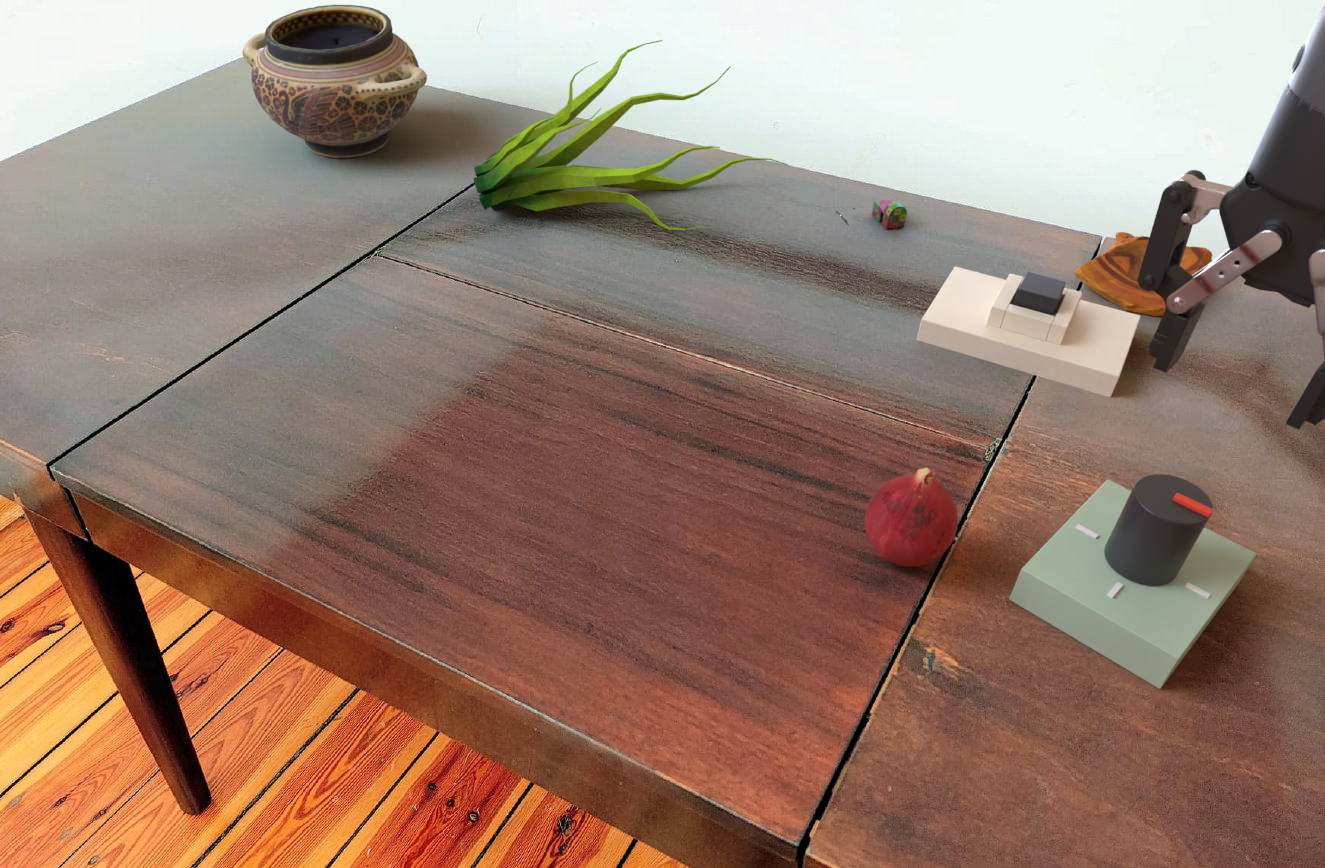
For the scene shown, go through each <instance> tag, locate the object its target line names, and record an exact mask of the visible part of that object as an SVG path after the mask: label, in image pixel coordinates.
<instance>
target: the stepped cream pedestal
mask: <svg viewBox="0 0 1325 868" xmlns="http://www.w3.org/2000/svg"><path fill="white" fill-rule="evenodd" d="M1024 277H1025V276H1022V275H1019V274H1016V273H1015V274H1014V273H1012V272H1011V273H1009V274H1008V276H1007V278H1006V279H1004V278H1001V277H997V276H993V275H989V274H985V273H983V272H982V273H981V272H978V271H975V270H971V269H967V268H963V267H959V266H954V267H953V269H952V270H951V272H950V273H949V275H948V277H947V278H946V280H945V281H944V283H943V284H942V286H941V287H940V289H939V291H938V293H937V294H936V296H935V297H934V299H933V301H932V302H931V304H930V305H929V306H928V308H927V310H926V311H925V313H924V315H923V316H922V318H921V320H920V324H919V328H918V331H917V335H916V341H919V342H922V343H925V344H927V345H932V346H935V347H938V348H942V349H945V350H948V351H952V352H955V353H959V354H962V355H966V356H969V357H971V358H976V359H979V360H982V361H986V362H990V363H993V364H995V365H999V366H1003V367H1006V368H1009V369H1012V370H1016V371H1020V372H1023V373H1026V374H1029V375H1032V376H1036V377H1039V378H1043V379H1047V380H1049V381H1053V382H1056V383H1060V384H1063V385H1067V386H1070V387H1072V388H1073V387H1074V388H1075V389H1079V390H1082V391H1087V392H1090V393H1094V394H1097V395H1100V396H1104V397H1107V398H1112V396H1113V393H1114V391H1115V388H1116V387H1117V384H1118V381H1119V379H1120V377H1121V374H1122V371H1123V368H1124V366H1125V362H1126V360H1127V357H1128V354H1129V351H1130V349H1131V346H1132V343H1133V339H1134V337H1135V335H1136V331H1137V329H1138V326H1139V324H1140V321H1141V317H1142V316H1141V315H1140V314H1137V313H1133V312H1130V311H1126V310H1121V309H1117V308H1113V307H1110V306H1105V305H1102V304H1098V303H1094V302H1091V301H1088V300H1083V299H1081V298H1082V296H1083V291H1080V290H1075V289H1073V288H1072V289H1071V288H1067V287H1064V290H1063V293H1062V295H1061V298H1060V301H1059V303H1058V305H1057V307H1056V309H1055V311H1054V314H1053V316H1052V315H1049V314H1045V313H1041V312H1038V311H1034V310H1030V309H1027V308H1023V307H1019V306H1016V305H1013V304H1014V300H1015V297H1016V294H1017V291H1018V288H1019V287H1020V285H1021V283H1022V281H1023V279H1024Z"/></svg>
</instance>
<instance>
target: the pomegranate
mask: <svg viewBox="0 0 1325 868" xmlns="http://www.w3.org/2000/svg"><path fill="white" fill-rule="evenodd" d="M935 476H936V473H935V472H934V470H932V469H931V468H930V467H928V466H926V467H924V468H919V469H917V470H916V473H915V474H904V475H901V476H897V477H893V478H891V479H889V480H888V481H886V482H885V483H883V484H882V485H881V486H880V487H879V488H878V489H876V491H874V493H873V495H872V496H871V497H870V499H869V501H868V504H867V507H866V510H865V515H864V529H865V533H866V536H867V539H868V541H869V544H870V545H871V547H872V548H873V549H874V550H875V552H876V553H877V554H878V556H880V557H881V558H882V559H885V560H886V561H888V562H890V563H891V564H892V565H893V564H894V565H897V566H900V567H905V568H909V567H922V566H924V565H926V564H928V563H931V562H932V561H935V560H936V559H938V558H941V556H943V555H944V553H945V552H946V551H947V550H948V549H949V548H950V546H951V545H952V543H953V542H954V541H955V539H956V535H957V532H958V522H959V521H958V519H959V515H958V509H957V506H956V504H955V500H954V499H953V496H952V494H951V493H950V491H949V490H948V489H947V488H946V487H945V486H944V485H943V484H942V483H941V482H940V481H938V480H936V479H935Z"/></svg>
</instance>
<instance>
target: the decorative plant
mask: <svg viewBox="0 0 1325 868" xmlns="http://www.w3.org/2000/svg"><path fill="white" fill-rule="evenodd" d="M659 42H663V39H660V40H655V41H649V42H645V43H642V44H639V45H637V46H634V47H631V48H628V49H626V51H624V52H623V53H621V55H619V57H618V58H617V61H616V62H615V64H614V65H613V66H612V68H611V69H610V70H609V71H607V72H606V73H605V74H604V75H602V77H600V78H599V79H598V80H596V81H595V82H594V83H593V84H591V85H590V86H589V87H587V88H586V89H585V90H584V91H582V92H581V93H580V94H579V95H577V96H576V97H575V98H574V99H573V83H574V80H575V78H576V76H577V75H579V74H580V73H581V72H582V71H584V70H585V69H586V68H587V67H591V66H593V65H596V64H598V61H596V62H593V63H591V64H589V65H586V66H584V67H583V68H581V69H580V70H578V72H576V73H574V74H573V76H572V78H571V80H570V82H569V90H568V91H569V92H568V100H567V103H566V105H565V106H563V107H562V108H561V109H560V110H559V111H557V112H556V113H555V114H553V116H551V117H548V118H544V119H542V120H539V121H537V122H535V123H533V124H531V125H530V126H528V127H527V128H526V129H524V130H523V131H521V132H518V133H516V134H515V135H513V136H511V137H510V138H508V139H507V140H505V141H504V142H503V144H502V145H501V146H500V147H499V149H498V150H497V151H495V152H494V153H492V155H490V156H489V157H488V158H487V159H486V160H485V161H483V162H482V163H480V164H478V165H476V166H474V167H473V169H474V174H475V177H473V178H472V179H473V183H474V186H475V189H476V193H477V194H479V198H478V200H479V202H480V204H481V207H483V209H484V210H487V209H491V210H492V211H495V210H499V209H502V208H506V207H509V206H512V205H516V206H518V207H522V208H525V209H528V210H530V211H531V210H532V211H533V212H534V211H535V212H540V211H544V210H549V209H556V208H563V207H568V206H576V205H582V204H588V203H610V204H611V203H614V204H616V203H619V204H621V203H623V204H624V203H626V204H628V205H630V206H632V207H634V208H636V209H638V210H640V211H642V212H644V213H646V214H647V216H649V217H650V218H651V219H652V220H653V221H654V222H655V223H656V224H657V225H658V226H659V227H662V228H664V229H667V230H668V231H689V230H694V229H698V228H702V227H706V224H703V225H699V226H695V227H689V228H682V227H669V226H668V225H667V224H664V223H663V222H662V221H661V220H659V218H658V217H657V216H656V215H655V213H654V212H653V211H652V210H651V209H650V207H648V206H647V205H645V204H644V203H643V202H642V201H640V200H639V199H638V198H636V197H634V196H633V195H632V194H631V193H625V192H619V191H610V190H603V189H602V190H601V189H586V190H585V189H584V190H583V189H582V188H591V187H598V188H609V189H610V188H611V189H623V190H633V191H634V190H635V191H671V190H673V191H675V190H677V191H678V190H680V191H681V190H685V189H687V188H690V187H693V186H696V185H698V184H701V183H704V182H706V181H708V180H712V179H713V178H715V177H716V176H717V175H719V174H720V173H722V172H723V171H725V170H726V169H728V168H730V167H731V166H733V165H735V164H738V163H743V162H746V161H772V162H776V163H777V164H780V165H785V166H789V164H788V163H787V162H786V163H785V162H782V161H779V160H777V159H773V158H769V157H767V158H766V157H752V156H751V157H750V156H747V157H740V158H735V159H731V160H728V161H726V162H724V163H722V164H721V165H719V166H717V167H715V168H713V169H711V170H709V171H707V172H704V173H700V174H697V175H694V176H691V177H687V178H685V179H682V180H678V179H676V178H675V179H674V178H670V177H666V176H663V175H658V174H657V173H659V172H661V171H663V170H665V169H666V168H667V167H669V166H670V165H672V164H673V163H674V162H675V161H676V160H677V159H679V158H680V157H682V156H684V155H687V154H688V153H690V152H692V151H700V150H706V149H721V147H720V146H715V145H705V146H703V145H700V146H699V145H697V146H692V147H689V148H686V149H683V150H681V151H678V152H675V153H674V154H673V155H671V156H669V157H667V158H666V159H663V160H661V161H660V162H657V163H652V164H646V165H642V166H637V167H635V168H614V167H602V166H590V165H577V164H575V165H574V164H572V165H568V164H570V163H571V162H573V161H574V160H576V159H577V158H578V157H579V156H580V155H581V154H582V153H584V152H585V151H586V150H588V148H589V147H591V146H592V145H593V144H594V143H595V142H596V141H598V139H600V138H601V137H602V136H603V135H604V134H605V133H607V131H609V130H610V129H611V128H612V127H613V126H614V125H615V124H616V123H617V122H618V121H619V120H621V118H622V117H623V116H624V115H625V114H626V113H627V112H629V110H630V109H632V107H633V106H636V105H637V106H638V105H641V104H646V103H650V102H651V103H652V102H656V101H685V100H688V99H691V98H695V97H697V96H699V95H701V94H702V93H703V92H705V91H706V90H708V89H709V88H710V87H712V86H713V85H715V84H716V83H718V81H719V80H721V78H722V77H723V76H724V75H725V74H726V73H727V71H729V69H730V68H731V66H730V65H729V66H728V67H727V68H726V69H725V71H724V72H723V73H722V74H721V75H720V76H719V77H718V78H717V79H716V81H713V82H712V83H710V84H709V85H707V86H705V87H703V88H702V89H700V90H699V91H697V92H695V93H690V94H685V95H680V94H673V93H665V92H655V93H648V94H639V95H634V96H631V97H629V98H627V99H626V100H624V101H622V102H621V103H619V104H617V105H615V106H613V107H612V108H610V109H608V110H607V111H605V112H603V113H601V114H600V115H598V116H596V115H597V114H598V113H599V112H600V111H601V109H602V107H600V108H599V109H598V110H597V111H596V112H595V113H594V114H593V115H592V116H591V117H589V118H586V119H583V120H580V121H575V122H573V123H571V122H572V121H573V120H574V119H575V118H577V117H578V116H579V115H580V114H581V112H583V111H584V110H585V109H586V108H587V107H588V106H589V105H590V104H591V103H592V102H593V101H594V100H595V99H596V98H597V97H598V96H599V95H600V94H601V93H602V92H604V90H605V89H606V88H607V87H608V86H609V85H610V83H611V82H612V81H613V79H614V78H615V77H616V76H617V75H618V73H619V70H620V67H621V64H622V62H623V59H624V58H625V57H626V56H627V55H628V54H629V53H631V52H632V51H635V50H637V49H639V48H642V47H643V46H645V45H651V44H655V43H659ZM595 116H596V117H595ZM592 119H593V120H592ZM590 120H591V121H590ZM588 121H590V122H589V123H588V124H587V125H585V126H584V127H583V128H582V129H581V130H579V131H578V132H577V133H575V135H573V136H572V137H571V138H570V139H569V140H567V141H566V142H565V143H563V144H561V145H559V146H557V147H556V148H554V149H551V150H550V151H549V152H547V153H545V154H541V155H539V154H540V153H541V151H542V150H543V149H544V148H545V147H546V146H548V144H550V142H551V141H552V140H553V139H554V138H555V137H556V136H557V135H558V134H560V133H562V132H565V131H566V130H570V129H571V128H574V127H576V126H579V125H582V124H583V123H585V122H588ZM568 189H582V190H568ZM564 190H565V191H564ZM567 190H568V191H567Z"/></svg>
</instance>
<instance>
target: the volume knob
mask: <svg viewBox="0 0 1325 868" xmlns="http://www.w3.org/2000/svg"><path fill="white" fill-rule="evenodd" d="M1130 491H1131V493H1130V495H1129V497H1128V500H1127V502H1126V504H1125V506H1124V508H1123V510H1122V512H1121V514H1120V516H1119V518H1118V520H1117V522H1116V524H1115V527H1114V529H1113V531H1112V533H1111V535H1110V537H1109V539H1108V541H1107V543H1106V545H1105V548H1104V554H1105V558H1106V560H1107V562H1108V564H1109V565H1110V566H1111V567H1112V568H1113V569H1114V570H1115V571H1116V572H1117V573H1118V574H1120V575H1121V576H1123V577H1124V578H1126V579H1128V580H1130V581H1133V582H1135V583H1139V584H1143V585H1149V586H1160V585H1164V584H1167V583H1169V582H1171V581H1173V580H1174V579H1175V578H1176V576H1177V574H1178V573H1179V571H1180V569H1181V567H1182V566H1183V564H1184V562H1185V560H1186V558H1187V557H1188V555H1189V553H1190V551H1191V550H1192V548H1193V546H1194V544H1195V543H1196V541H1197V539H1198V537H1199V536H1200V534H1201V532H1202V530H1203V528H1204V527H1205V526H1207V523H1208V521H1209V520H1210V517H1212V514H1213V512H1214V508H1213V503H1212V500H1211V499H1210V497H1209V496H1208V495H1207V494H1206V492H1205V491H1204V490H1203V489H1201V488H1200V486H1197V485H1196V484H1195V483H1193V482H1191V481H1189V480H1187V479H1185V478H1182V477H1179V476H1176V475H1172V474H1167V473H1166V474H1165V473H1153V474H1148V475H1144V476H1142V477H1141V478H1139V479H1138V480H1137V481H1136V482H1135V483H1134V485H1133V487H1132V489H1131V490H1130ZM1205 528H1206V527H1205Z"/></svg>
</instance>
